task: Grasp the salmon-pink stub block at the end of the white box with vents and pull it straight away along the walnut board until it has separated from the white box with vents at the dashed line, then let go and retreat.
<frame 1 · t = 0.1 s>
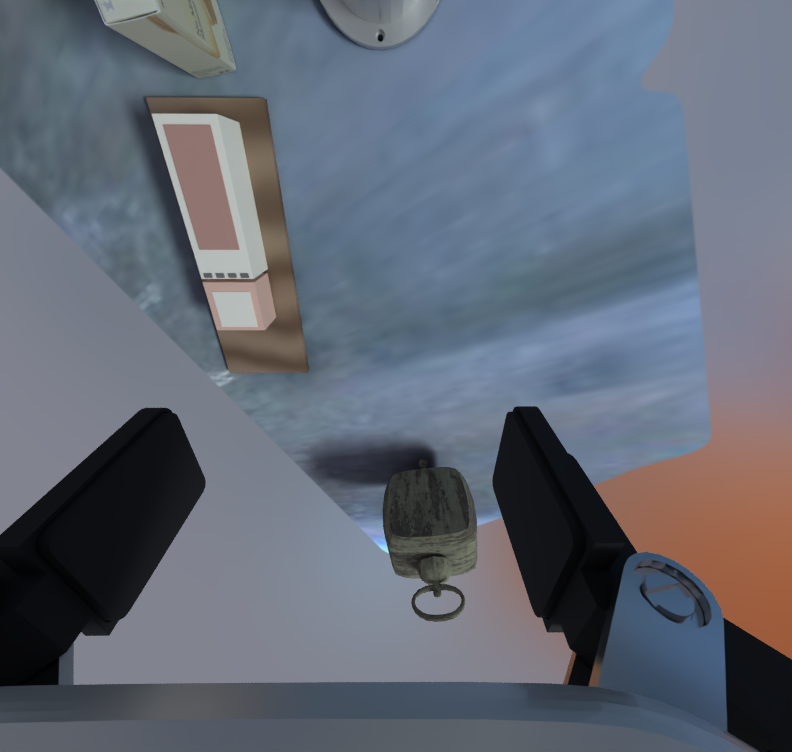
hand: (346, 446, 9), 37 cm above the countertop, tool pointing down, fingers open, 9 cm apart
white box with vents: (232, 202, 38), resting on board
skincare box: (205, 32, 31), on the countertop
board: (245, 261, 42), on the countertop
stub: (242, 301, 41), point 4 cm above the countertop, slide at 0.0 cm
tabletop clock: (423, 466, 62), on the countertop
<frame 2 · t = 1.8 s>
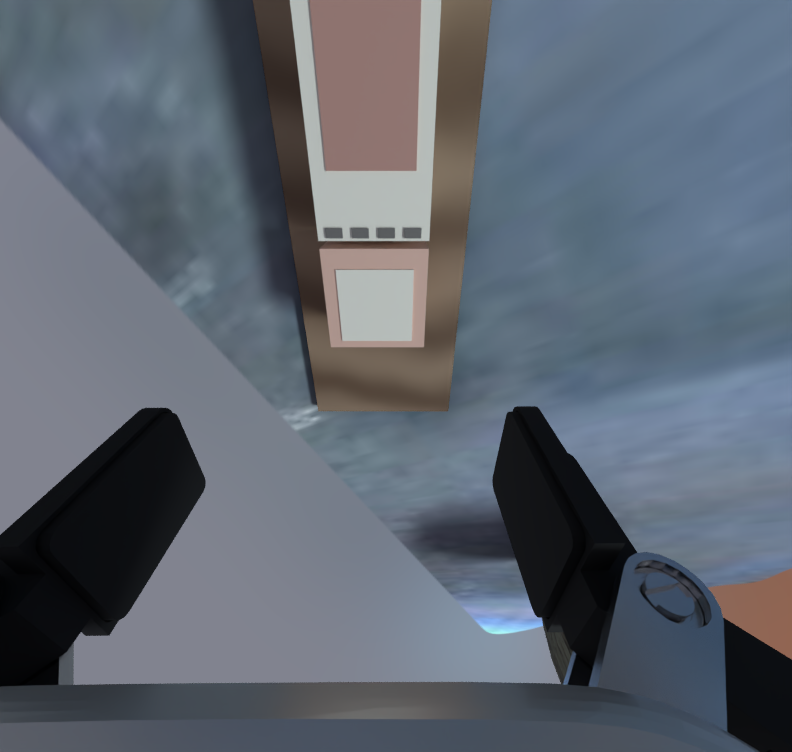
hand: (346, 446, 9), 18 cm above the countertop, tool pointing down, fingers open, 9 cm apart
white box with vents: (375, 83, 18), resting on board
board: (378, 214, 22), on the countertop
stub: (377, 290, 21), point 4 cm above the countertop, slide at 0.0 cm
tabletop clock: (579, 537, 42), on the countertop
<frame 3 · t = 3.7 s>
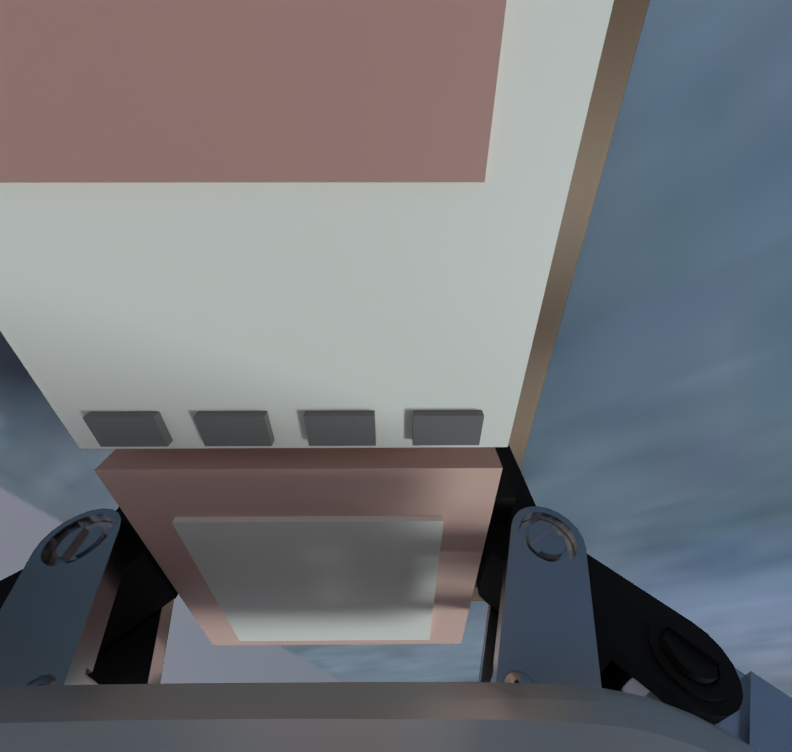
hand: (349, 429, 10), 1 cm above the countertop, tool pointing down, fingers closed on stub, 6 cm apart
board: (344, 283, 9), on the countertop
stub: (339, 485, 8), point 4 cm above the countertop, slide at 0.0 cm, touching gripper
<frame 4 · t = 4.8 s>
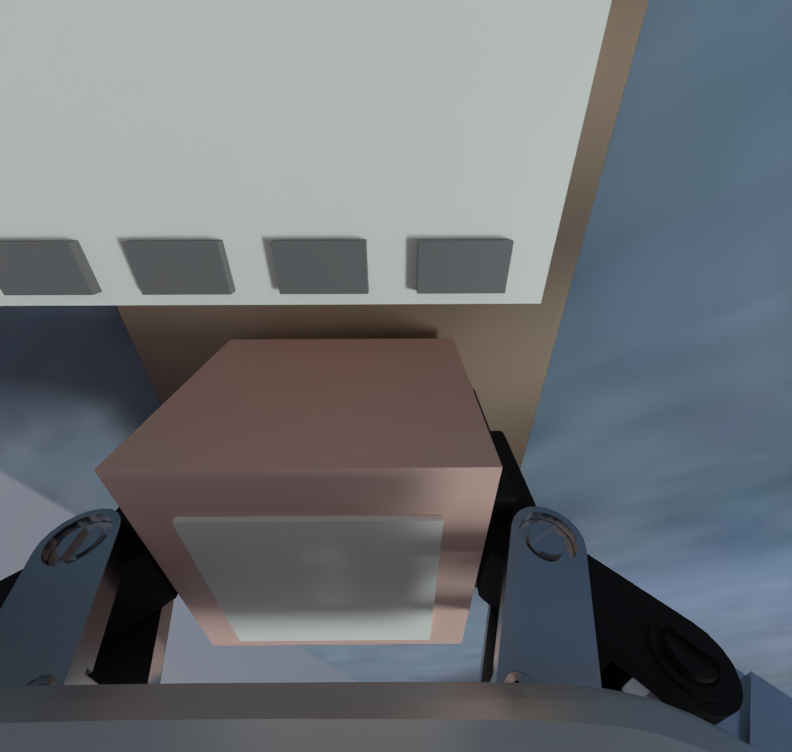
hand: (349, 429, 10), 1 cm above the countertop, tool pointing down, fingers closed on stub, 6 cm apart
board: (337, 200, 8), on the countertop
stub: (339, 485, 8), point 4 cm above the countertop, slide at 2.1 cm, touching gripper
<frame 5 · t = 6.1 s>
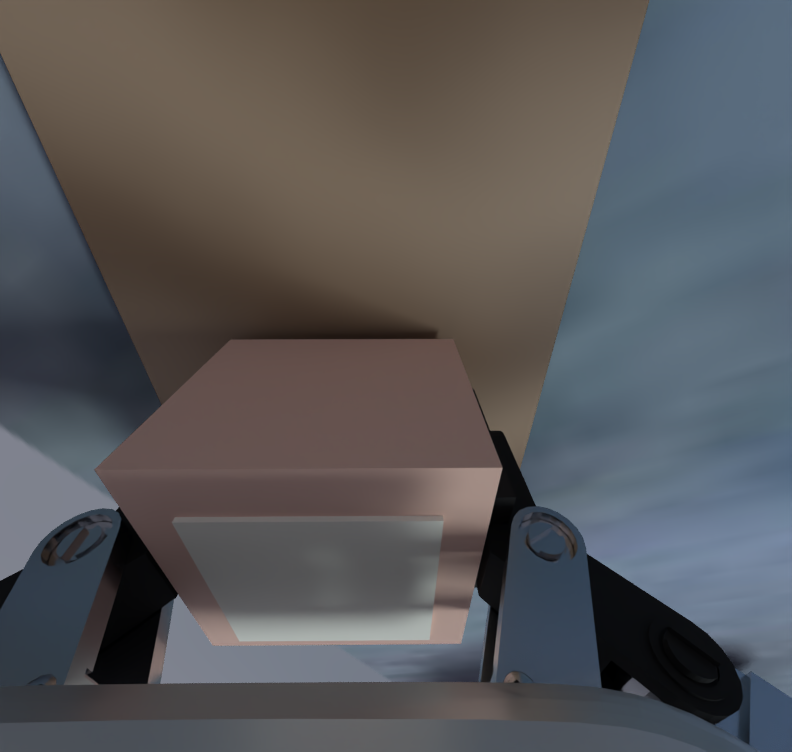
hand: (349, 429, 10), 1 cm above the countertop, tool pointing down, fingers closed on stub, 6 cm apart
stub: (339, 485, 8), point 4 cm above the countertop, slide at 7.0 cm, touching gripper
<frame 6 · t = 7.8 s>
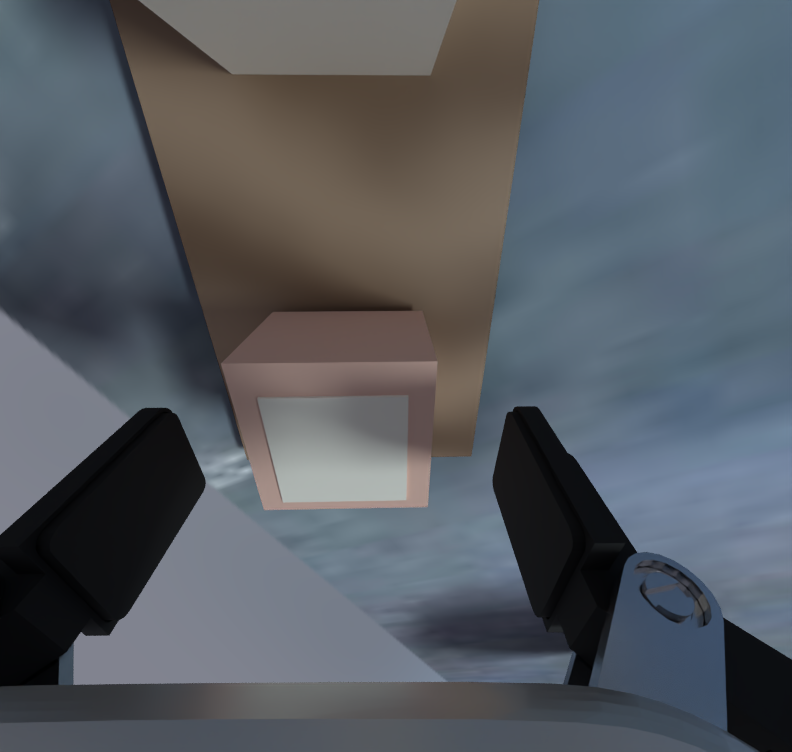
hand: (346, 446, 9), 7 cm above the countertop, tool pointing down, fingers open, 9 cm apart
board: (333, 51, 10), on the countertop
stub: (347, 406, 12), point 4 cm above the countertop, slide at 6.9 cm
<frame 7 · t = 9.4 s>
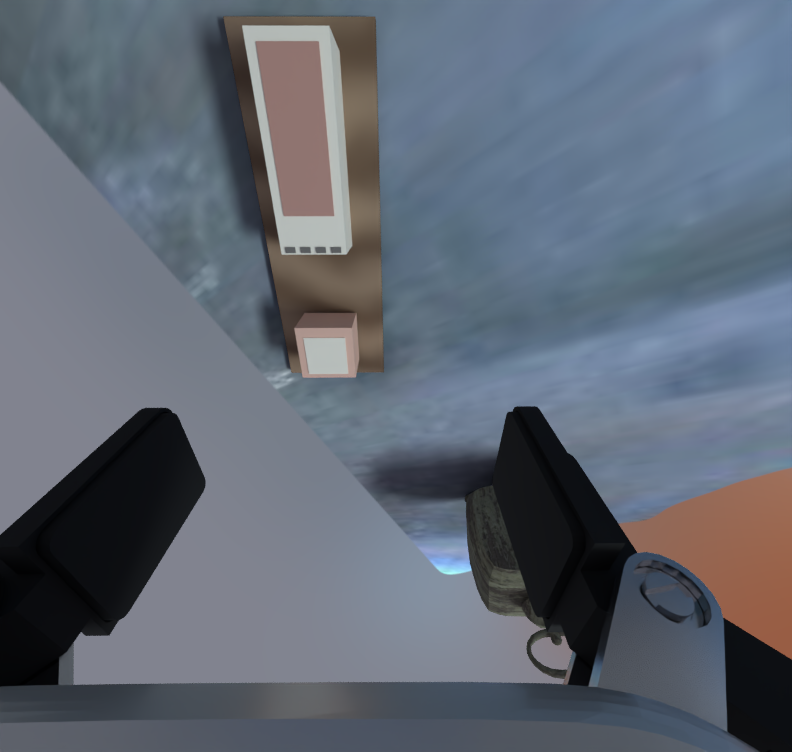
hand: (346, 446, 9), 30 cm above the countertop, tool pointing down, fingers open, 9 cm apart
white box with vents: (316, 161, 31), resting on board
board: (324, 237, 34), on the countertop
stub: (329, 344, 37), point 4 cm above the countertop, slide at 6.9 cm
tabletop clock: (499, 479, 54), on the countertop
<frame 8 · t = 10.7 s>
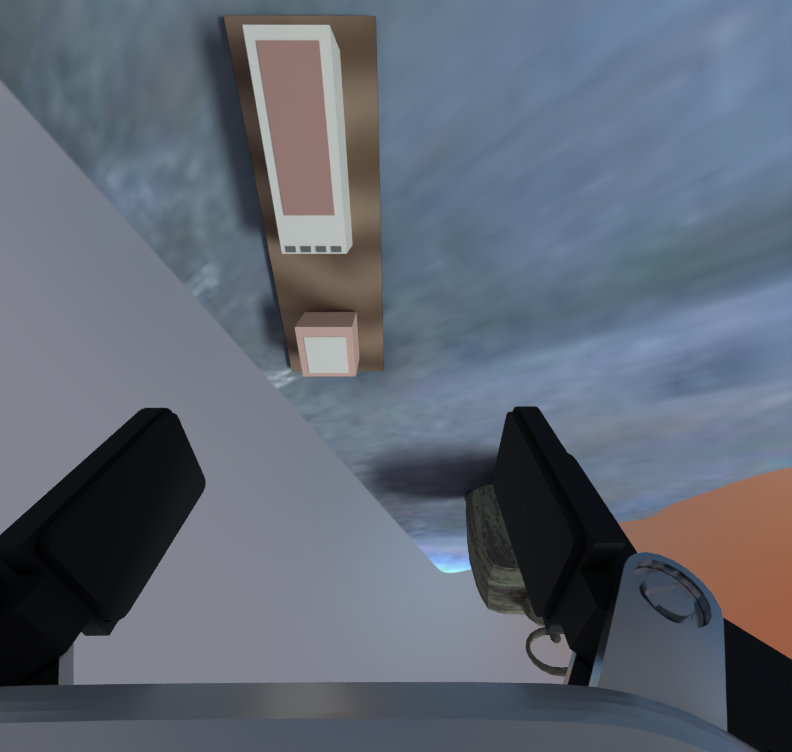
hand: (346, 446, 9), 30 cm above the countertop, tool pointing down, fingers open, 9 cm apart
white box with vents: (316, 160, 31), resting on board
board: (324, 236, 35), on the countertop
stub: (330, 343, 37), point 4 cm above the countertop, slide at 6.9 cm
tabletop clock: (499, 478, 54), on the countertop
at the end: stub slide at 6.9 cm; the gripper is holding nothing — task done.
